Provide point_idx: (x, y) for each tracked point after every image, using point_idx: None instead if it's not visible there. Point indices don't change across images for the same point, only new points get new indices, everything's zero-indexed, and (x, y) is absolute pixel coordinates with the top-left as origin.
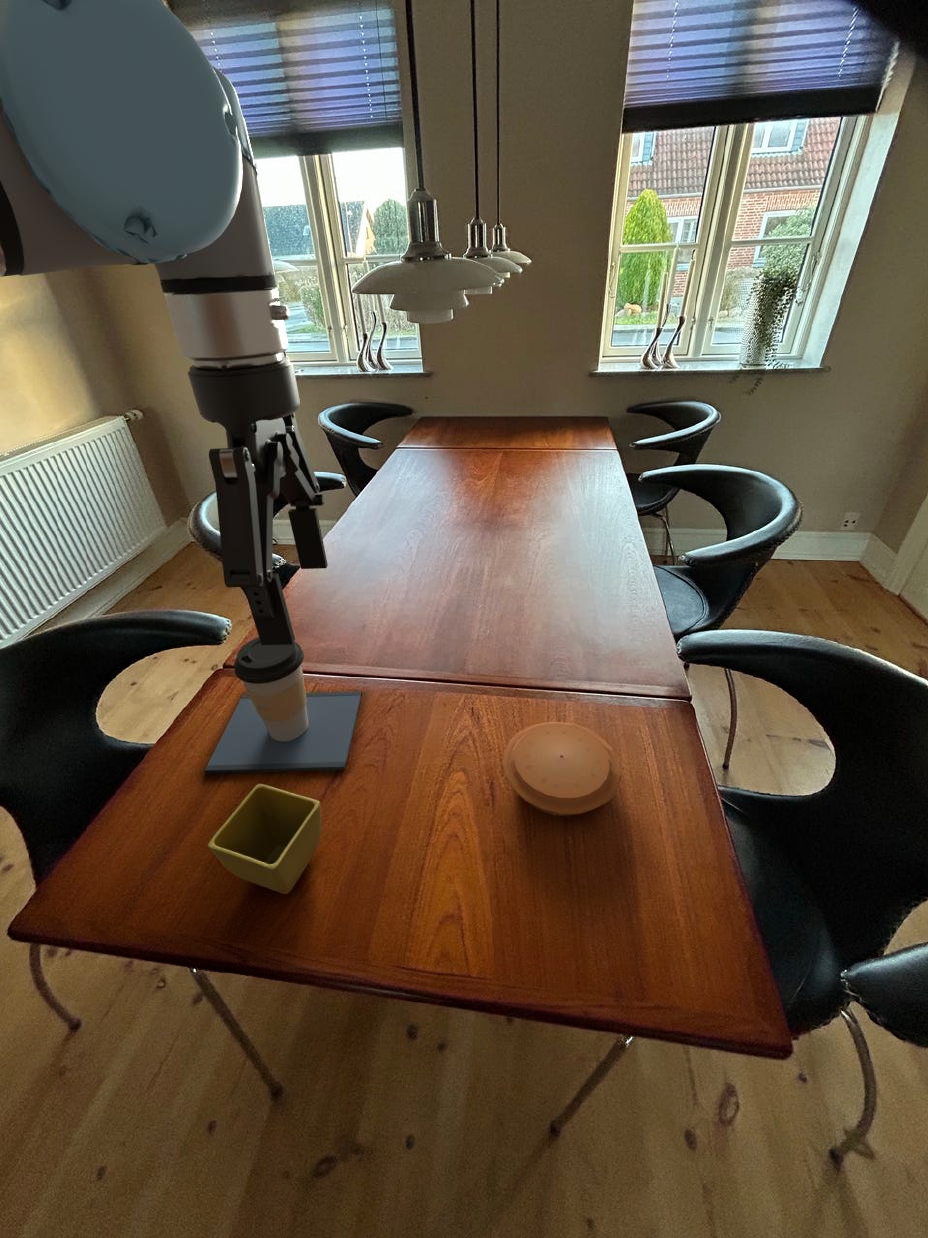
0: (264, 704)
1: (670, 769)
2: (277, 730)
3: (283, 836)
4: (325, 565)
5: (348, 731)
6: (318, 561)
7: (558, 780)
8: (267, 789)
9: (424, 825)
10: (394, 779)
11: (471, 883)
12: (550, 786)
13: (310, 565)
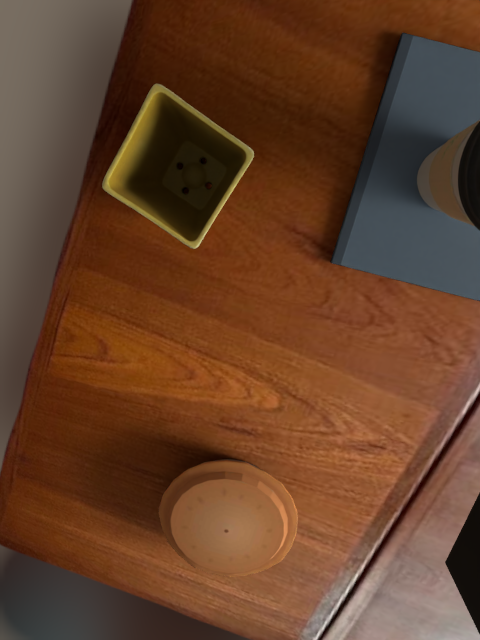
0: (449, 150)
1: (214, 599)
2: (427, 164)
3: (229, 178)
4: (451, 573)
5: (401, 274)
6: (469, 570)
7: (195, 513)
8: (240, 168)
9: (213, 347)
10: (291, 325)
11: (133, 378)
12: (190, 503)
13: (478, 524)
